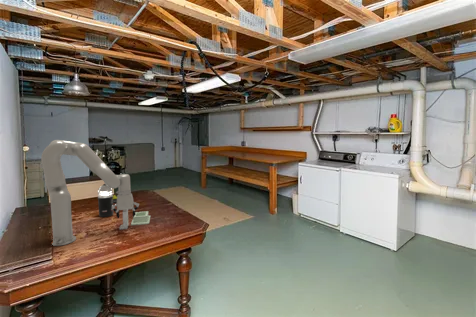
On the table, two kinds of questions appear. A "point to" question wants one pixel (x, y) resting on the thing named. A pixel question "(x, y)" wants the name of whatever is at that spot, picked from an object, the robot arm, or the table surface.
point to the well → (141, 218)
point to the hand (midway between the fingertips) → (126, 217)
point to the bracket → (124, 220)
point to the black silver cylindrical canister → (105, 201)
